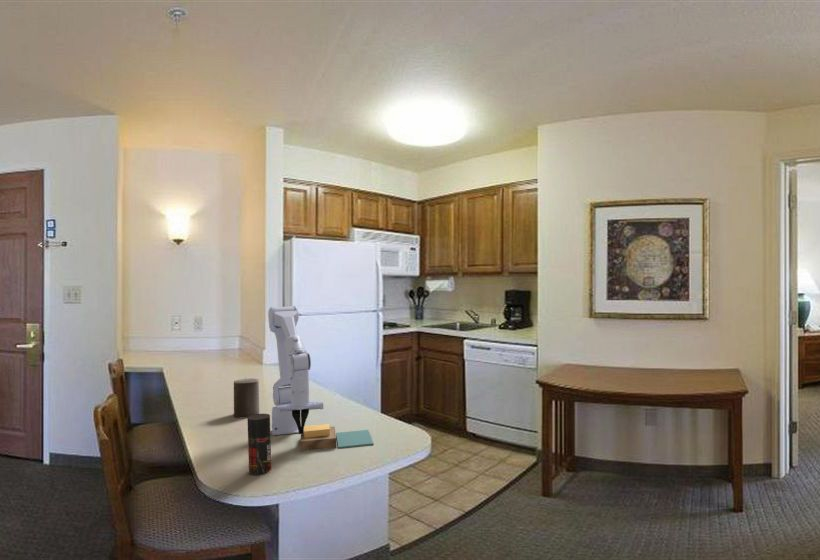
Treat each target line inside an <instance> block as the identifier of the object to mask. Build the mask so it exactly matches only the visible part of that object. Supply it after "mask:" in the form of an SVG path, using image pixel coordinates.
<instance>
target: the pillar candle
mask: <svg viewBox="0 0 820 560" xmlns="http://www.w3.org/2000/svg"><path fill="white" fill-rule="evenodd" d="M259 383H260V381H259V379H258V378H247V377H244V378H239V379H236V380H234V381H233V416H234V417H235V416H236V417H235V418H240V417H246V418H248V417H249V416H251V415H255V414H260V386H259V385H260V384H259Z"/></svg>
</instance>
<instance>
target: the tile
mask: <svg viewBox="0 0 820 560" xmlns="http://www.w3.org/2000/svg"><path fill="white" fill-rule="evenodd" d="M330 427H331V426H330V424H329V423H323V424H314V425H312V424H311V425H304V438H307V437H317V436H327V435H330Z"/></svg>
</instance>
